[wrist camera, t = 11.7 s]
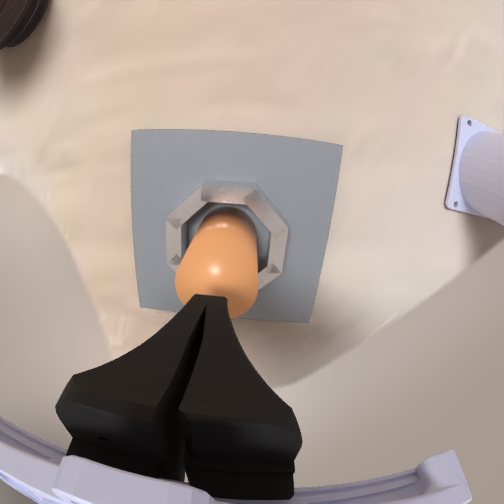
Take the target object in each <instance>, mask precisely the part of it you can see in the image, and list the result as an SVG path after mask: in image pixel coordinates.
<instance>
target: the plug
mask: <svg viewBox="0 0 504 504" xmlns="http://www.w3.org/2000/svg"><path fill="white" fill-rule="evenodd" d="M175 289H176V292H177V295H178V297H179V299H180V301H181V302H182V303H183V305H185V304H186V303H187V302H188V301H189V300H190V299H191V297H192V296H193V295H195V294H202V295H212V296H223V297H226V298H227V299H228V303H227V305H228V312H229V316H230V320H231V319H234V318H237V317H239V316H241V315H243V314H244V313H245V312H247V311H248V310H249V309H250V308H251V306H252V305H253V304H254V302H255V300H256V297H257V294H258V259H257V231H256V226H255V224H254V222H253V220H252V219H251V217H250V216H249V215H248V214H247V213H245V212H244V211H242V210H241V209H238V208H235V207H229V206H225V207H219V208H216V209H214V210H212V211H210V212H209V213H208V214H207V215H206V216H205V217H204V218H203V220H202V222H201V224H200V226H199V228H198V229H197V231H196V233H195V235H194V237H193V239H192V241H191V243H190V245H189V247H188V249H187V251H186V253H185V255H184V257H183V259H182V261H181V263H180V265H179V267H178V269H177V272H176V276H175Z"/></svg>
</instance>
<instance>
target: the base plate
mask: <svg viewBox="0 0 504 504" xmlns="http://www.w3.org/2000/svg"><path fill="white" fill-rule="evenodd" d="M342 149H343V145H339V144H333V143H327V142H321V141H314V140H307V139H300V138H293V137H285V136H276V135H267V134H256V133H245V132H231V131H213V130H182V129H152V130H132V133H131V209H132V229H133V244H134V256H135V267H136V277H137V286H138V294H139V302H140V307H142V308H150V309H157V310H165V311H173V312H179V311H180V310H181V309H182V308H183V307H184V305H183V303H182V302H181V301H180V299H179V297H178V295H177V292H176V289H175V276H176V272H175V271H174V270H173V269H172V268H171V267H170V266H169V265H168V264H167V254H166V219H165V218H166V217H167V216H168V215H169V214H170V212H171V211H172V210H173V209H175V208H176V207H177V206H178V205H179V204H180V203H181V202H182V201H183V200H184V199H185V198H186V197H188V196H189V195H190V194H191V193H192V192H193V191H194V190H195V189H196V188H198V187H199V186H200V185H201V184H202V183H203V182H204V181H205V180H206V179H216V180H230V181H242V182H254V183H256V184H257V185H258V186H259V187H260V189H261V190H262V191H263V192H264V193H265V195H266V196H267V197H268V198H269V199H270V200H271V202H272V203H273V204H274V205H275V206H276V208H277V209H278V210H279V211H280V212H281V214H282V215H283V216H284V217H285V218H286V221H287V225H288V228H289V229H288V235H287V242H286V249H285V256H284V262H283V269H282V274H280V275H279V276H278V277H276V278H275V279H273V280H272V281H271V282H269V283H268V284H266V285H265V286H263V287H262V288H261V289H259V290H258V294H257V297H256V300H255V302H254V304H253V305H252V306H251V308H250V309H249V310H248V311H247V312H245V313H244V314H243V315H241V316H239V317H237V318H242V319H255V320H269V321H285V322H305V323H309V320H310V316H311V312H312V308H313V304H314V299H315V295H316V291H317V286H318V282H319V277H320V273H321V268H322V264H323V259H324V254H325V249H326V244H327V239H328V234H329V229H330V223H331V218H332V212H333V207H334V201H335V195H336V189H337V183H338V176H339V170H340V163H341V156H342ZM225 206H229V207H235V208H238V209H241V210H242V211H244V212H245V213H247V214H248V215H249V216H250V217H251V219H252V220H253V222H254V224H255V226H256V231H257V259H260V258H261V257H262V256H264V255H265V254H266V251H267V242H268V234H269V230H268V228H267V227H266V226H265V225H264V224H263V223H262V221H261V220H260V219H259V218H258V217H257V216H256V215H255V213H254V212H253V211H252V210H251V209H250V208H249V207H248V205H244V204H232V203H219V202H207V203H206V204H205V205H204V206H203V207H201V208H200V209H199V210H198V211H197V212H196V213H195V214H193V215H192V216H191V217H190V218H189V219H188V241H187V247H189V245H190V243H191V241H192V239H193V237H194V235H195V233H196V231H197V229H198V228H199V226H200V224H201V222H202V220H203V218H204V217H205V216H206V215H207V214H208V213H209V212H210V211H212V210H214V209H216V208H219V207H225Z"/></svg>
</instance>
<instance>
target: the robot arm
mask: <svg viewBox="0 0 504 504" xmlns="http://www.w3.org/2000/svg"><path fill="white" fill-rule="evenodd" d="M467 122H469V125H468V123H467ZM454 202H456V204H455V205H454ZM445 205H446V207H447V208H449V209H452V210H456V211H461V212H465V213H469V214H473V215H477V216H481V217H484V218H488V219H492V220H494V221H495V222H497V223H499V224H501V225H502V226H504V134H501V133H499V132H497V131H496V130H494V129H492V128H490V127H488V126H486V125H484V124H482V123H480V122H478V121H476V120H474V119H472V118H470V117H468V116H466V115H461V116H460V117H459V123H458V132H457V140H456V147H455V154H454V160H453V166H452V172H451V177H450V182H449V187H448V192H447V196H446V201H445ZM227 303H228V299H227V298H226V297H223V296H212V295H202V294H195V295H193V296H192V297H191V299H190V300H189V301H188V302H187V303H186V304H185V305H184V307H183V308H182V309H181V310H180V311H179V312H178V313H177V314H176V315H175V316H174V317H173V318H172V319H171V320H170V321H169V322H168V323H167V324H166V325H165V326H164V327H162V328H161V329H160V330H159V331H158V332H157V333H156V334H154V335H153V336H152V337H151V338H149V339H148V340H147V341H145V342H144V343H142V344H141V345H139V346H138V347H136V348H135V349H133V350H131V351H130V352H128V353H126V354H124V355H123V356H121V357H119V358H117V359H115V360H113V361H111V362H108V363H106V364H104V365H102V366H99V367H97V368H93V369H90V370H87V371H85V372H81V373H78V374H75V375H73V376H72V378H71V379H70V381H69V382H68V383H67V385H66V387H65V389H64V391H63V393H62V394H61V396H60V398H59V400H58V402H57V404H56V406H55V408H56V413H57V415H58V417H59V419H60V420H61V421H62V423H63V424H64V426H65V427H66V429H67V430H68V432H69V433H70V434H71V436H72V437H73V439H72V441H71V443H70V446H69V449H68V450H67V449H64V448H62V447H60V446H57V445H55V444H53V443H51V442H48V441H46V440H44V439H42V438H40V437H38V436H36V435H34V434H32V433H30V432H28V431H26V430H24V429H22V428H20V427H18V426H16V425H14V424H13V423H11V422H9V421H8V420H6V419H4V418H2V417H1V416H0V479H1V480H3V481H4V482H6V483H7V484H8V485H10V486H12V487H13V488H14V489H16V490H18V491H19V492H21V493H23V494H24V495H26V496H27V497H29V498H31V499H32V500H34V501H36V502H37V503H39V504H466V503H468V502H470V501H471V500H472V496H471V494H470V490H469V488H468V485H467V482H466V479H465V477H464V474H463V471H462V469H461V466H460V464H459V461H458V459H457V456H456V454H455V451H454V450H452V449H451V450H448V451H446V452H443V453H440V454H437V455H434V456H431V457H429V458H427V459H425V460H424V461H422V462H421V463H420V464H419V465H418V466H417V467H416V468H415V469H411V470H407V471H403V472H400V473H396V474H392V475H387V476H383V477H378V478H373V479H368V480H362V481H356V482H350V483H343V484H336V485H327V486H317V487H303V488H294V481H293V474H294V472H295V466H294V460H295V458H296V456H297V454H298V452H299V451H300V448H301V446H302V436H301V432H300V428H299V425H298V422H297V420H296V417H295V415H294V412H293V410H292V408H291V407H290V406H288V405H287V404H286V403H285V402H284V401H282V399H281V398H279V396H278V395H277V394H276V393H275V392H274V391H273V390H272V389H271V388H270V387H269V386H268V385H267V384H266V382H265V381H264V380H263V379H262V377H261V376H260V375H259V374H258V372H257V371H256V370H255V368H254V367H253V365H252V364H251V362H250V361H249V359H248V358H247V356H246V354H245V352H244V351H243V349H242V347H241V345H240V343H239V341H238V338H237V336H236V334H235V331H234V329H233V326H232V323H231V320H230V316H229V312H228V305H227ZM185 471H186V474H187V478H188V481H189V483H188V482H187V483H186V482H184V479H185Z"/></svg>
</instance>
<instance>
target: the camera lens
mask: <svg viewBox="0 0 504 504" xmlns="http://www.w3.org/2000/svg"><path fill="white" fill-rule="evenodd" d="M47 2H48V0H0V49H3V48H5V47H13V46H16V45H18V44H19V43H21V42H22V41H23V40H24V39H26V38H27V37H28V36H29V35H30V33H31V32H32V31H33V30H34V28H35V27H36V26H37V24H38V23H39V21H40V19H41V17H42V16H43V13H44V11H45V9H46V5H47Z"/></svg>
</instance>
